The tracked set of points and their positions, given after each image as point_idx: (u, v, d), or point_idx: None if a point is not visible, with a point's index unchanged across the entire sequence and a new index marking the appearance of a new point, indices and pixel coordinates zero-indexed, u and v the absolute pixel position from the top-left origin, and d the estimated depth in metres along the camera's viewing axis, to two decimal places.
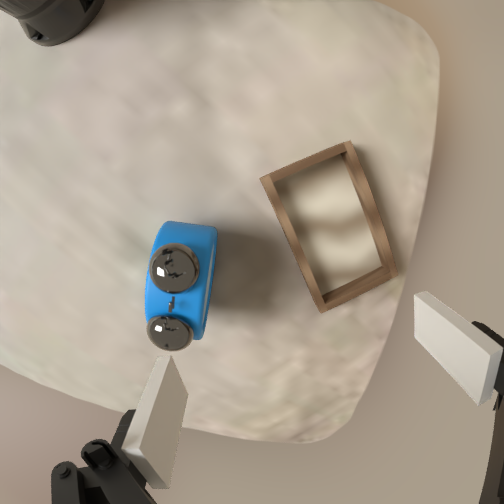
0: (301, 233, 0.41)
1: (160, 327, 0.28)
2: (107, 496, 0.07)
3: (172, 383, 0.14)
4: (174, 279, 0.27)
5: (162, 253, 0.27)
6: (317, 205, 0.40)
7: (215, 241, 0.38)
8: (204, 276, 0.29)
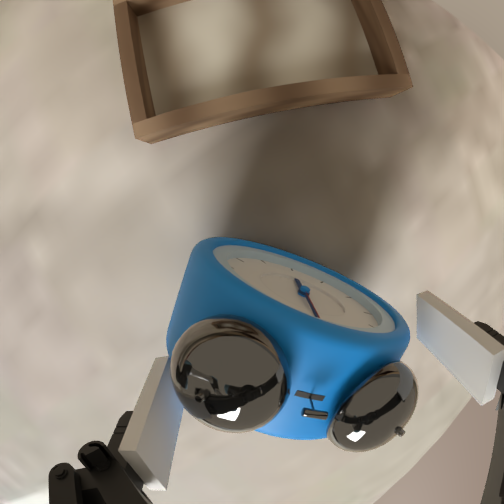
0: (261, 86, 0.20)
1: (353, 440, 0.10)
2: (104, 498, 0.06)
3: (170, 384, 0.14)
4: (240, 403, 0.09)
5: (179, 397, 0.11)
6: (216, 53, 0.19)
7: (236, 242, 0.20)
8: (267, 311, 0.11)
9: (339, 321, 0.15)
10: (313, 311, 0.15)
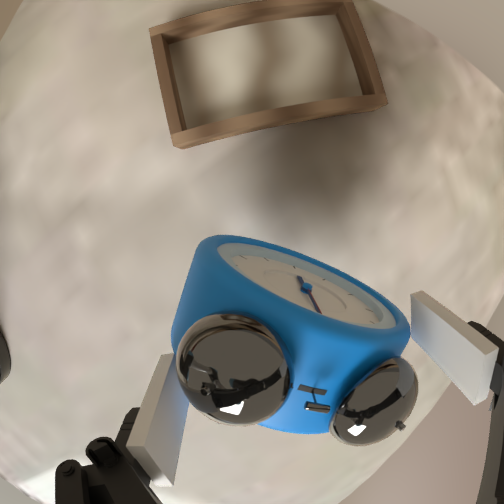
0: (268, 105, 0.26)
1: (354, 434, 0.11)
2: (111, 494, 0.07)
3: (175, 381, 0.14)
4: (244, 396, 0.10)
5: (185, 391, 0.11)
6: (233, 78, 0.26)
7: (240, 240, 0.20)
8: (271, 307, 0.12)
9: (341, 317, 0.15)
10: (315, 307, 0.15)
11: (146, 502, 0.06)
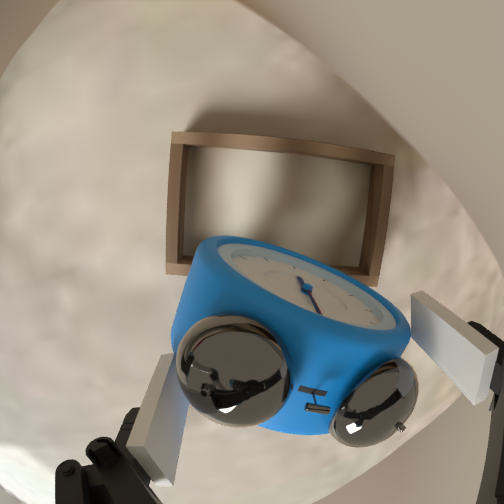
0: None
1: (354, 435, 0.11)
2: (111, 494, 0.07)
3: (175, 381, 0.14)
4: (244, 397, 0.10)
5: (185, 392, 0.11)
6: (242, 212, 0.28)
7: (240, 240, 0.20)
8: (272, 308, 0.12)
9: (341, 318, 0.15)
10: (316, 308, 0.15)
11: (146, 502, 0.06)
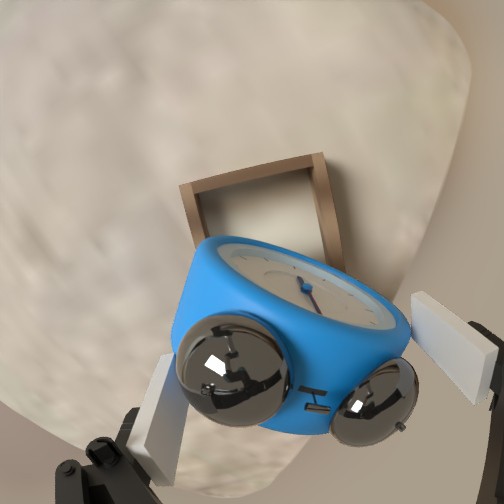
0: None
1: (354, 435, 0.11)
2: (111, 494, 0.07)
3: (175, 381, 0.14)
4: (244, 397, 0.10)
5: (185, 392, 0.11)
6: (259, 236, 0.29)
7: (240, 240, 0.20)
8: (271, 308, 0.12)
9: (341, 318, 0.15)
10: (316, 308, 0.15)
11: (146, 501, 0.06)
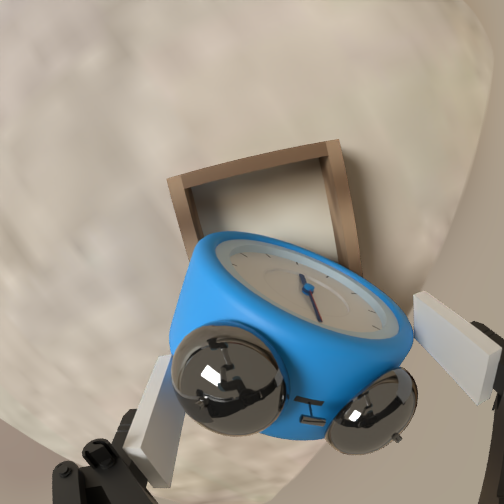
0: None
1: (349, 445, 0.10)
2: (108, 495, 0.07)
3: None
4: (238, 412, 0.09)
5: (179, 402, 0.11)
6: None
7: (241, 236, 0.20)
8: (268, 319, 0.11)
9: (342, 323, 0.15)
10: (316, 313, 0.14)
11: (143, 503, 0.06)
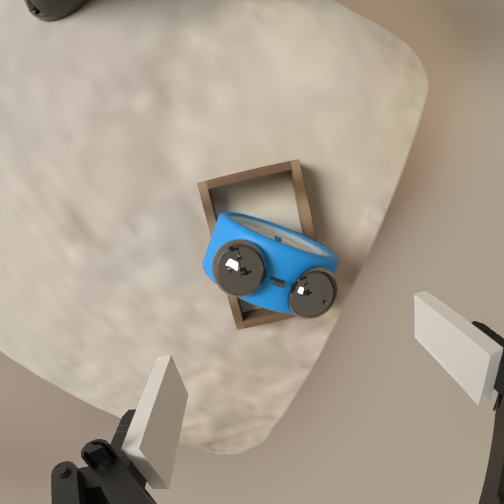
0: None
1: (299, 302, 0.25)
2: (107, 496, 0.07)
3: (172, 383, 0.14)
4: (245, 272, 0.24)
5: (216, 277, 0.25)
6: None
7: (241, 215, 0.35)
8: (257, 237, 0.26)
9: None
10: None
11: None
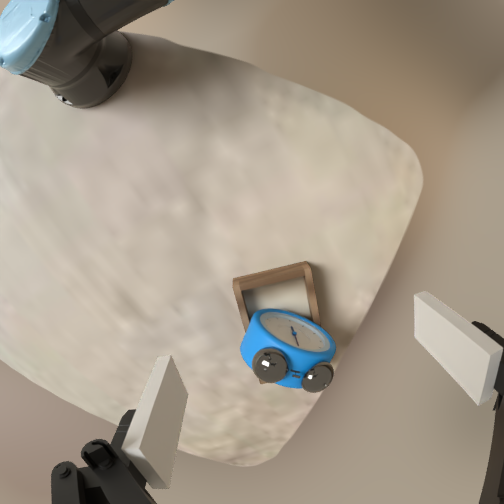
0: None
1: (309, 386, 0.37)
2: (107, 496, 0.07)
3: (172, 383, 0.14)
4: (275, 372, 0.36)
5: (256, 372, 0.37)
6: (274, 307, 0.51)
7: (266, 311, 0.47)
8: (282, 346, 0.38)
9: (306, 346, 0.41)
10: (297, 343, 0.41)
11: None
